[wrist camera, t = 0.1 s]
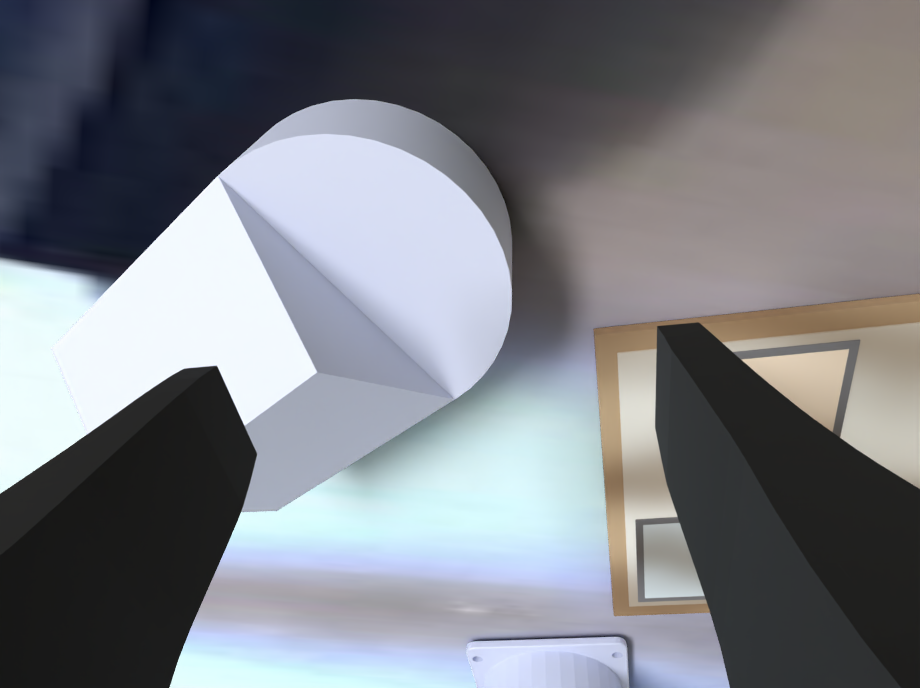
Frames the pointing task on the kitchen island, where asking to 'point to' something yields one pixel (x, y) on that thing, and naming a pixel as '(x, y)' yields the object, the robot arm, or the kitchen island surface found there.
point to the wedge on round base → (314, 292)
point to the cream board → (790, 372)
